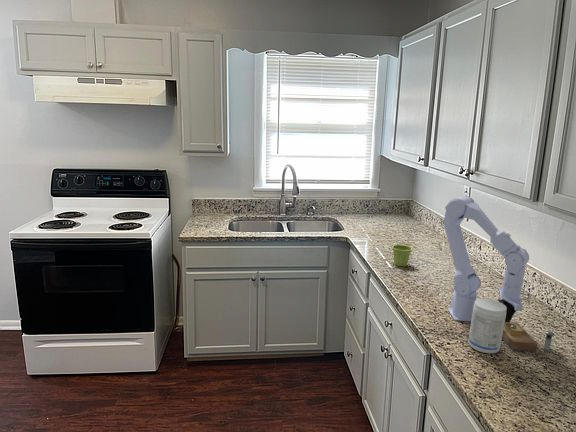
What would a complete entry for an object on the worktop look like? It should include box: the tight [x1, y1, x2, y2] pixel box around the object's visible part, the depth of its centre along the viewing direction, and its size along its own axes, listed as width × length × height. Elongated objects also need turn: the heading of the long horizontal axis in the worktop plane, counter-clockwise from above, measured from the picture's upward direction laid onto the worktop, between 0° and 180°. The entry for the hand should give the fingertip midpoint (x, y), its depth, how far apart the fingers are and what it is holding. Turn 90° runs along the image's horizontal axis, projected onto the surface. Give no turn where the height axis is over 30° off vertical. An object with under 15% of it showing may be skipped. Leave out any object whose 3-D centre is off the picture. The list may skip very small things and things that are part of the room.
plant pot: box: [391, 244, 413, 267], centre depth 219 cm, size 9×9×9 cm
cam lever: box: [543, 330, 555, 354], centre depth 141 cm, size 2×12×6 cm, turn 147°
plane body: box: [502, 321, 538, 353], centre depth 150 cm, size 15×8×3 cm, turn 176°
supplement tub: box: [467, 298, 507, 354], centre depth 143 cm, size 10×10×15 cm
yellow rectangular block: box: [504, 323, 523, 336], centre depth 149 cm, size 5×4×2 cm
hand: (505, 321), depth 155 cm, fingers closed
